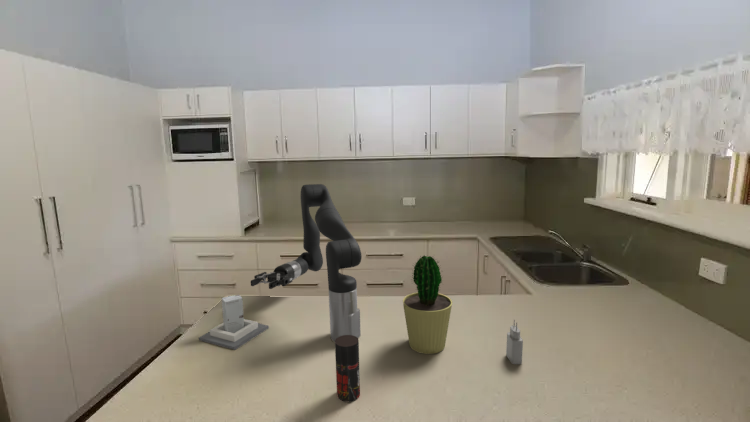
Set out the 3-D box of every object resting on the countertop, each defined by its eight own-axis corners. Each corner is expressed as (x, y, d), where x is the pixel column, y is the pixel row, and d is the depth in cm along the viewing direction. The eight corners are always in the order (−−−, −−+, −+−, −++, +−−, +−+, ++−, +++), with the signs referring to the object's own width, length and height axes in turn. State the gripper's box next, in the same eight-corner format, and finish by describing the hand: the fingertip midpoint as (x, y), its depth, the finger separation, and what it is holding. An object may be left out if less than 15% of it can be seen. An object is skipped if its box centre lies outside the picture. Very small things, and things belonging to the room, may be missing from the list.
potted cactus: (461, 343, 123) (462, 252, 118) (433, 363, 112) (434, 264, 107) (422, 328, 134) (422, 244, 129) (393, 345, 123) (392, 255, 118)
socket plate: (268, 328, 136) (268, 320, 136) (234, 350, 122) (234, 341, 122) (234, 320, 143) (234, 312, 143) (199, 340, 129) (198, 331, 128)
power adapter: (515, 353, 117) (517, 316, 115) (522, 363, 111) (524, 325, 109) (505, 354, 116) (506, 317, 114) (512, 364, 111) (513, 325, 109)
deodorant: (337, 388, 102) (335, 335, 99) (359, 386, 102) (358, 334, 100) (336, 402, 96) (334, 347, 93) (360, 401, 96) (359, 345, 94)
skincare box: (227, 336, 129) (223, 302, 127) (223, 331, 133) (220, 297, 131) (245, 331, 133) (242, 297, 131) (241, 326, 136) (239, 293, 134)
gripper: (273, 261, 158) (244, 273, 144) (301, 264, 152) (275, 277, 138) (274, 279, 159) (246, 292, 145) (302, 283, 153) (276, 297, 139)
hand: (260, 285), depth 141 cm, fingers open, 8 cm apart
